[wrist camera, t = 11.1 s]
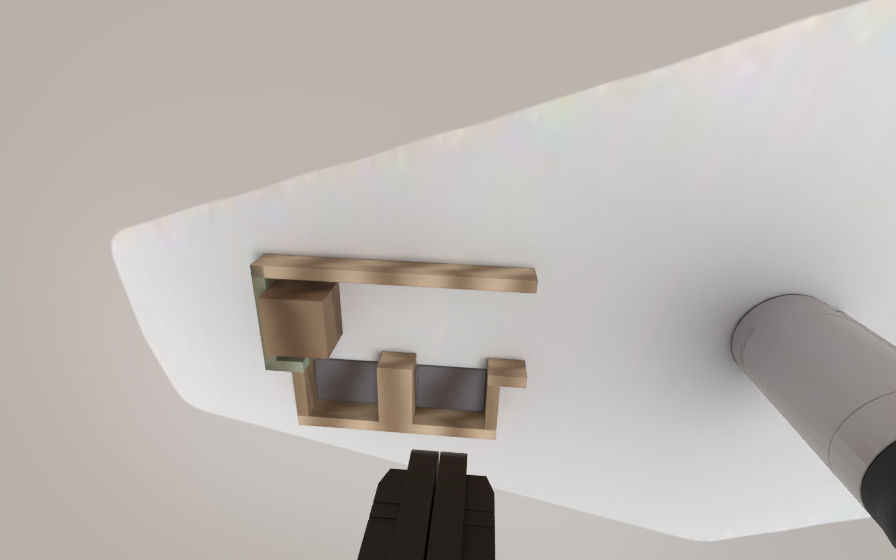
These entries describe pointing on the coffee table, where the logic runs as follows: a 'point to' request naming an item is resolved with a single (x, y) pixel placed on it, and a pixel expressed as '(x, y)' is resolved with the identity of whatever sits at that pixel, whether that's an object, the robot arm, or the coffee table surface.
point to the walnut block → (301, 318)
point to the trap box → (396, 356)
